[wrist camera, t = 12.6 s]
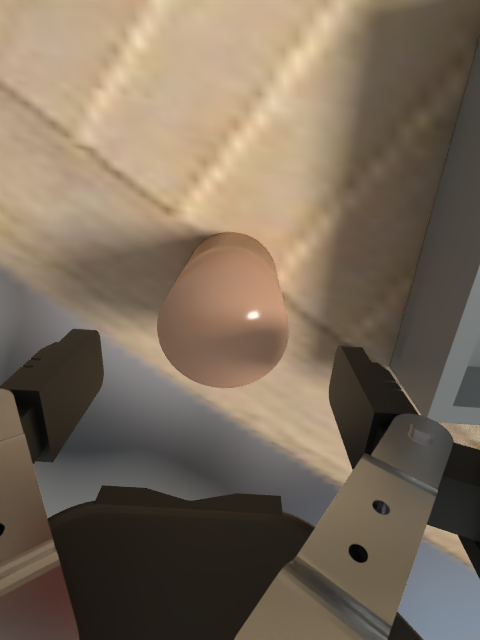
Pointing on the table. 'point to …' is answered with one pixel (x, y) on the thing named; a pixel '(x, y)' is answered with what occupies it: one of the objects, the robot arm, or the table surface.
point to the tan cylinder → (225, 314)
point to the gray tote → (448, 285)
